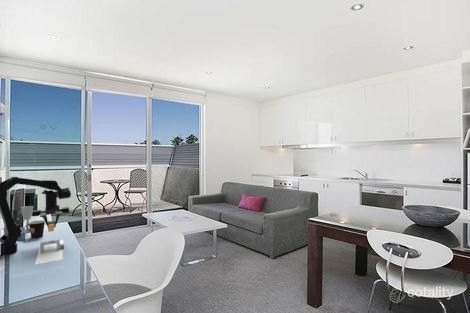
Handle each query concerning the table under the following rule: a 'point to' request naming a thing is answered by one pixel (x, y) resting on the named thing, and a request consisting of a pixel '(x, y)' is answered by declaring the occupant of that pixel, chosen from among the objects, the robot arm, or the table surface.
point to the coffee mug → (36, 228)
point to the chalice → (27, 215)
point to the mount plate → (50, 254)
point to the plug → (51, 225)
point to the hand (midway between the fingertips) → (51, 225)
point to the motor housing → (59, 246)
